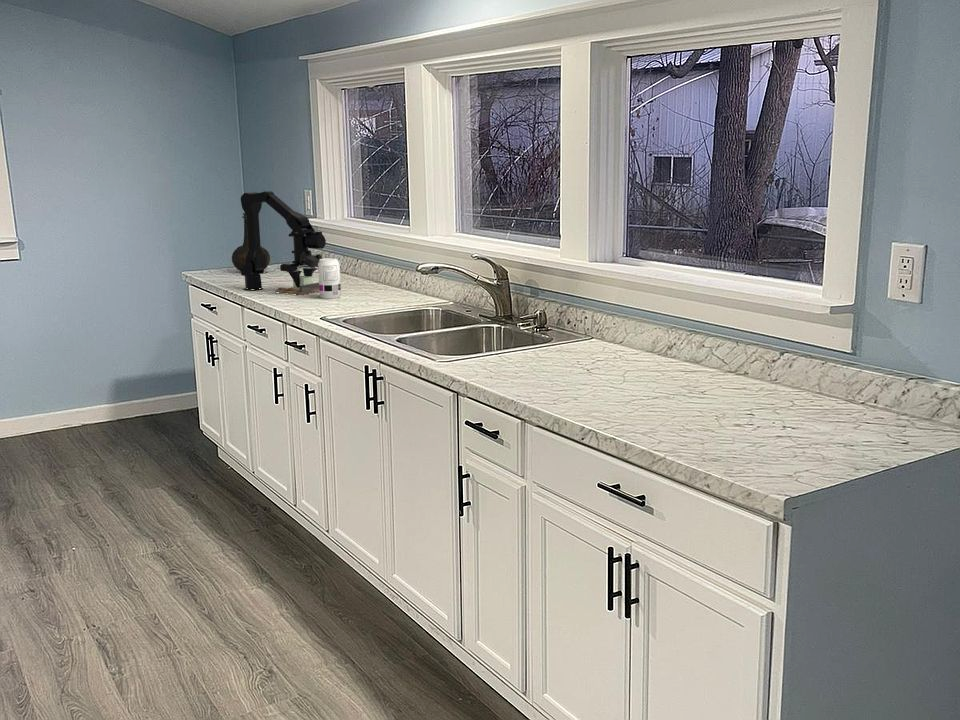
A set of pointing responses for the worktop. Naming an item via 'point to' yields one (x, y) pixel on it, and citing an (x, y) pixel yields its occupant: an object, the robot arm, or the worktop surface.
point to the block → (304, 281)
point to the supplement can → (329, 278)
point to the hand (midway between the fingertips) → (303, 286)
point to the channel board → (301, 289)
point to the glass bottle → (245, 250)
